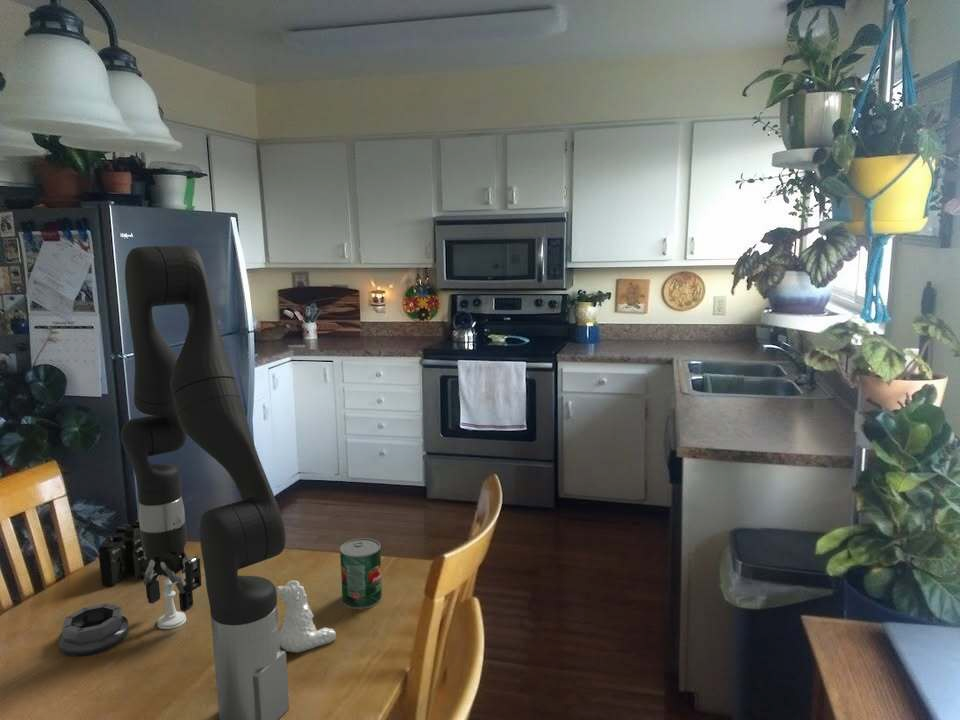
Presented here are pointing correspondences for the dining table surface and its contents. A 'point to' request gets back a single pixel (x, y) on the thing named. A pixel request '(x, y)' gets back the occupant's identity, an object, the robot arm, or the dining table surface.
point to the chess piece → (170, 609)
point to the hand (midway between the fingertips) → (170, 605)
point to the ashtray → (93, 630)
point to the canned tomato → (361, 573)
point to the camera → (119, 554)
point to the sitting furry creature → (300, 621)
